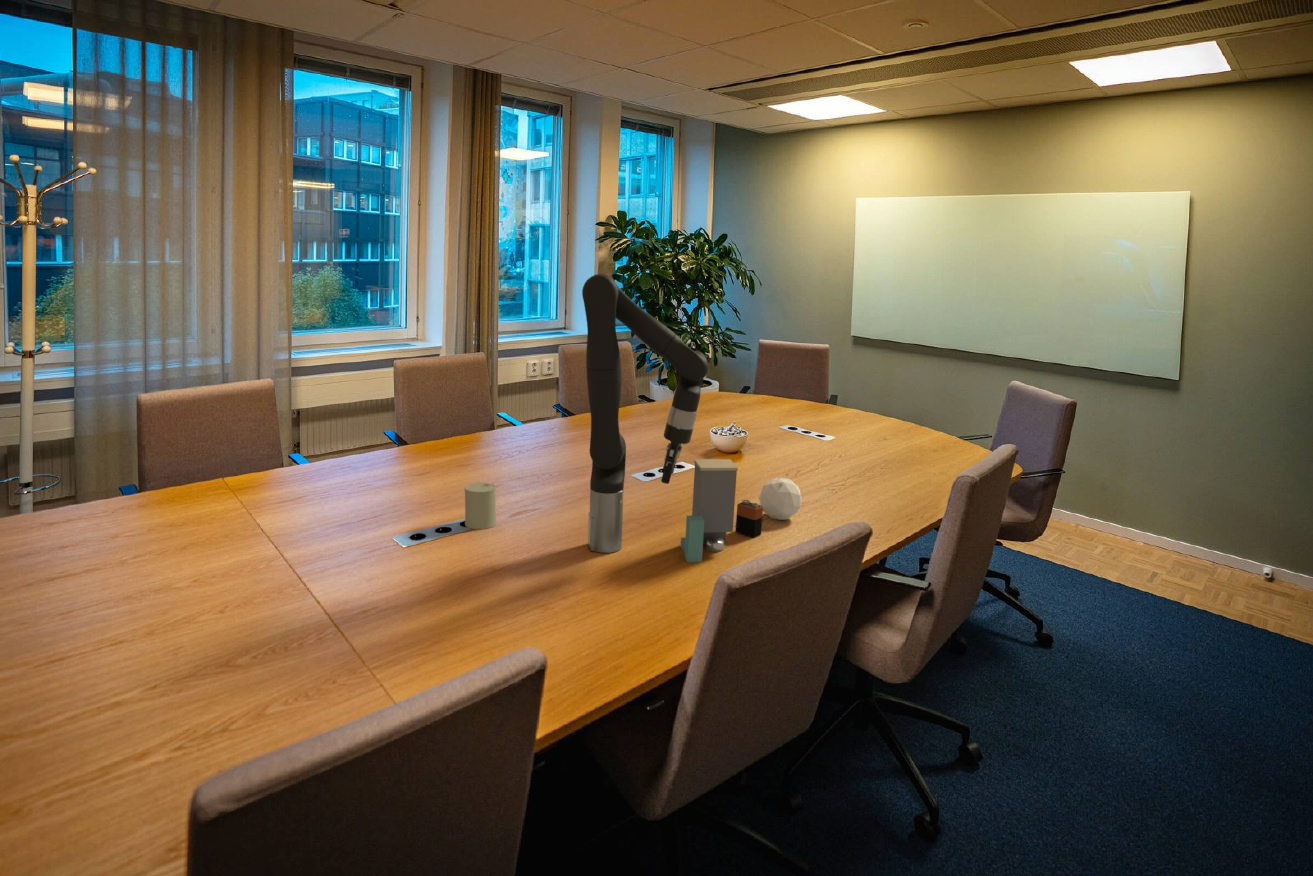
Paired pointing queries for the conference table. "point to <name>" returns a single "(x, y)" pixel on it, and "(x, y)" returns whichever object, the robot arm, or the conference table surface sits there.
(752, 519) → the battery
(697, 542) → the green piece
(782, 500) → the geodesic sphere
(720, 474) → the cabinet
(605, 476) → the robot arm
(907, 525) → the conference table surface
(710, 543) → the puck
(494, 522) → the can
